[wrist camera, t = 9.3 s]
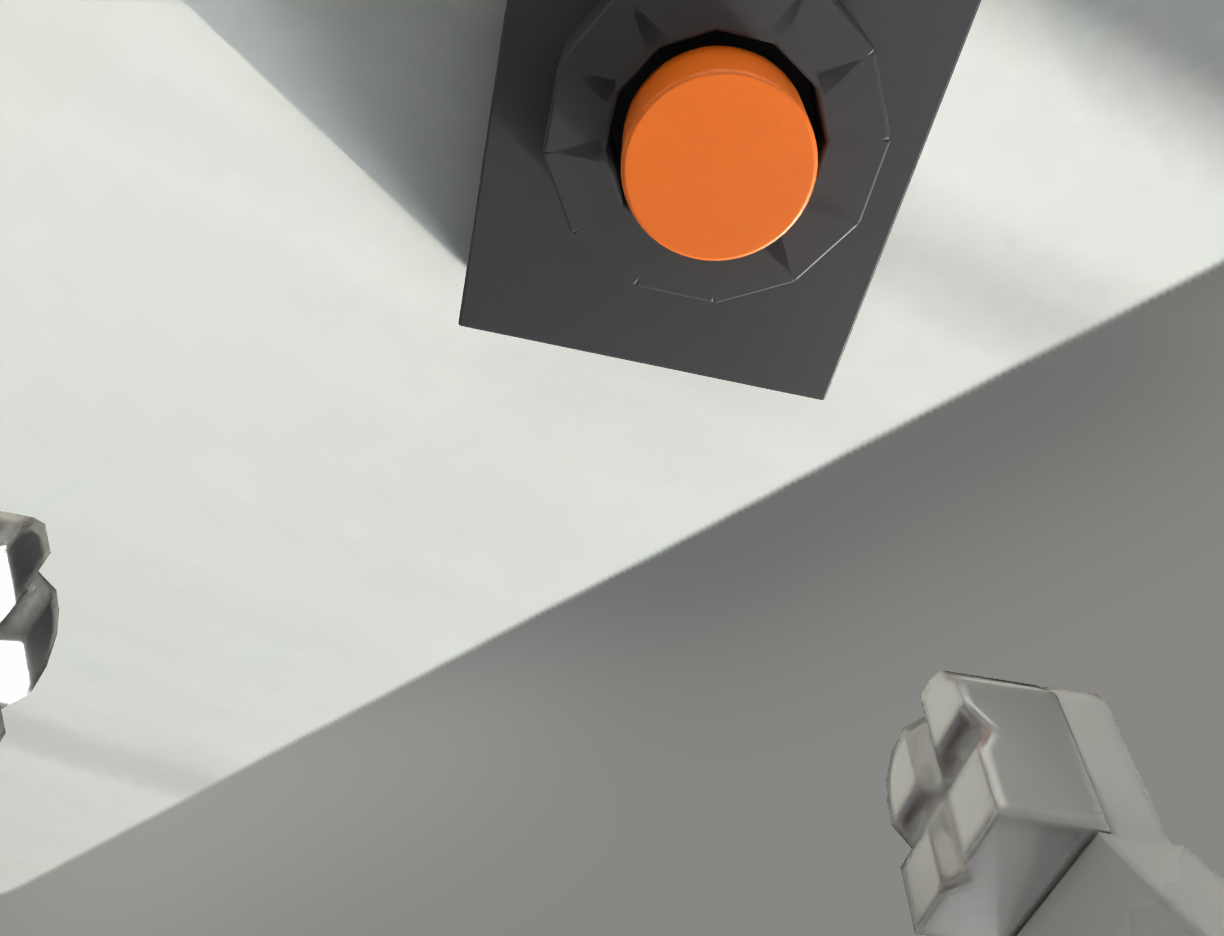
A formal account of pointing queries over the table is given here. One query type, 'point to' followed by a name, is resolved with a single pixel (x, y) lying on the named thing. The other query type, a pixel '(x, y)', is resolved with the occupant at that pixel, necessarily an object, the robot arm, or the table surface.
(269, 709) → the table surface
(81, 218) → the table surface
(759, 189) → the orange push button
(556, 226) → the push button base
